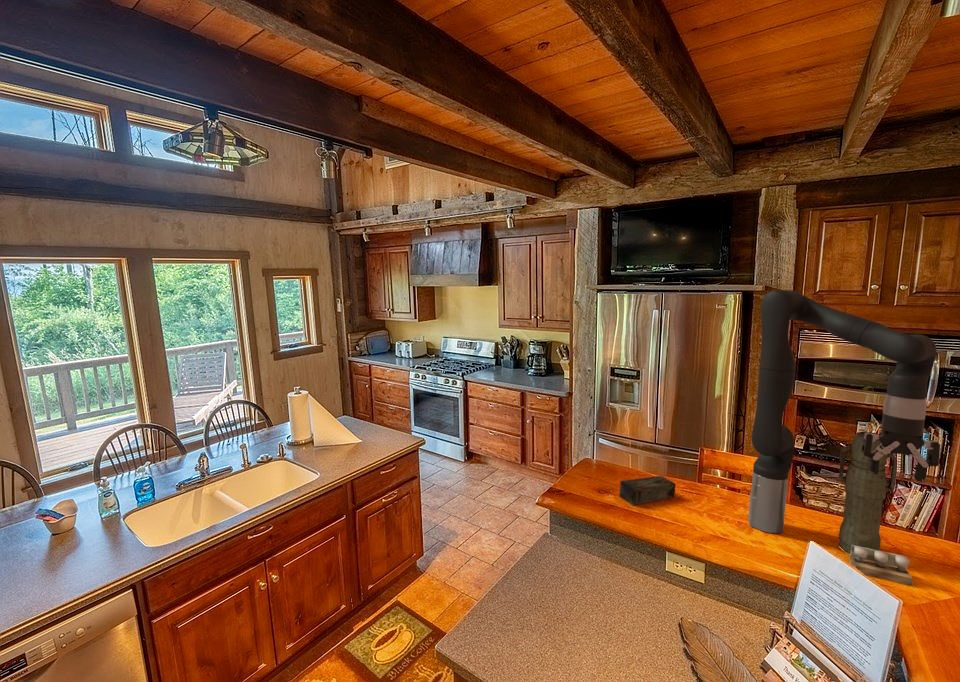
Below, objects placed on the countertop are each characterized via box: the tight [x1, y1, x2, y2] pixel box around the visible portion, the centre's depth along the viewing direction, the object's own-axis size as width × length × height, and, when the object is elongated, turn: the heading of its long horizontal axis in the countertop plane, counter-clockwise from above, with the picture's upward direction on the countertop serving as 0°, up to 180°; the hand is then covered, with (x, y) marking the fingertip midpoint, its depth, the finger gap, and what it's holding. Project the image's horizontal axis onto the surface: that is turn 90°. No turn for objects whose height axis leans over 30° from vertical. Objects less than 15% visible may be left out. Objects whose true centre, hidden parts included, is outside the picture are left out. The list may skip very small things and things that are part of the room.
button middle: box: [874, 550, 888, 568], centre depth 115 cm, size 3×3×4 cm
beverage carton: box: [618, 475, 676, 506], centre depth 157 cm, size 8×19×7 cm, turn 109°
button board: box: [848, 545, 914, 587], centre depth 115 cm, size 11×6×5 cm, turn 62°
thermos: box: [838, 431, 898, 555], centre depth 123 cm, size 9×12×35 cm
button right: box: [895, 554, 911, 573], centre depth 113 cm, size 3×3×4 cm
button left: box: [854, 546, 867, 563], centre depth 117 cm, size 3×3×4 cm
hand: (896, 476), depth 109 cm, fingers open, 8 cm apart
